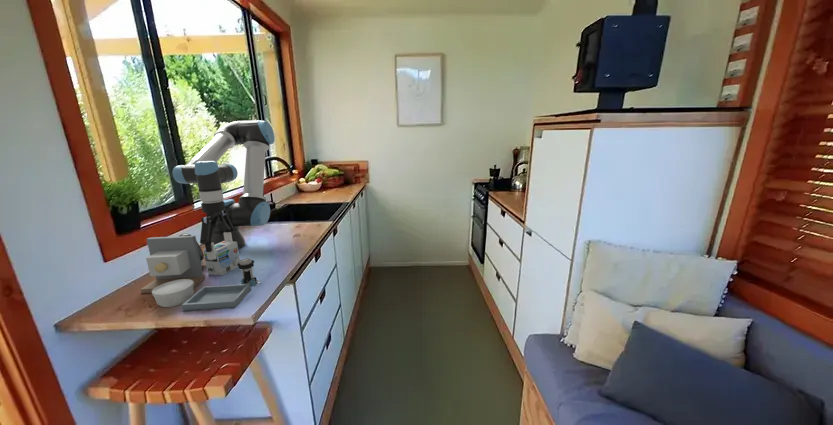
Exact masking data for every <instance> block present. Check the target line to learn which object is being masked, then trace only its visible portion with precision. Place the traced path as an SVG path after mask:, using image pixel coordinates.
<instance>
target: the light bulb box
mask: <svg viewBox="0 0 833 425" xmlns="http://www.w3.org/2000/svg"><path fill="white" fill-rule="evenodd" d="M214 249H215V254H216V259H212V260H208V258H207V253H206V248H204V249H203V250H202V251H203V255H204V259H205V265H206V269H207V275H210V276H212V275H213V276H224V275H225V274H228V273H230V272H232V271H233V270H235V269H237V268H239V267H238V265H237V264H238V263H239V262H240V260H241V258H240V252H239V249H238V245H237V242H232V241H222V242H220V243H218V244H215V245H214Z"/></svg>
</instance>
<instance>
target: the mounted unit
mask: <svg viewBox="0 0 833 425" xmlns="http://www.w3.org/2000/svg"><path fill="white" fill-rule="evenodd" d="M145 241H146V244H147V248H148V251H149V256H146V257H145V259H146V265H147V268H148V271H149V275H150V277H155V279H154V280H152V281H151V282H150V283H148V284H146V285H145V286H143V287H141V289H140V292H141V294H152V290H153V289H154V288H156V287H158V286H160V285H162V284H164V283H167V282H171V281H175V280H180V279H190V280H192V281H193V282H194V285H193V288H195V286H197V285H198V284H200V283H202V281H203V280H204V279H205V278H206V275H205V274H204V272H203V271H204V270H203V266H202V265H203V264H202V265H201V261H200V256H199V251H198V246H197V242H198V241H197V237H196V235H192V236H179V235H178V236H160V237H159V236H156V237H155V236H153V237H148V238H146V240H145Z"/></svg>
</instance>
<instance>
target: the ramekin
mask: <svg viewBox="0 0 833 425" xmlns="http://www.w3.org/2000/svg"><path fill="white" fill-rule="evenodd" d="M193 285H194V282H193V281H192V280H190V279H180V280H175V281H171V282H167V283H164V284H162V285H160V286H158V287H156V288H154V289H153V290H152V293H151V295H152V297H154V300H155V302H156V304H157V305H158V306H159V307H162V308H173V307H176V306H180V305H182V304H183V303H184V302H186V301H187V300H188V299H189V298H191V297H192V296H193V295H194V287H193Z"/></svg>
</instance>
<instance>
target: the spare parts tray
mask: <svg viewBox="0 0 833 425" xmlns="http://www.w3.org/2000/svg"><path fill="white" fill-rule="evenodd" d="M251 291H252V287H251V286H250V284H225V285H223V284H222V285H209V286H206V285H205V286H202V287H201V288H200V289H198V291H197V292H195V293H193V296H192V297H191V298H189V299H188V300H187V301H186V302H184V303H183V304H181V308H182V312H185V313H186V312H198V311H199V312H200V311H215V310H216V311H217V310H218V311H219V310H233V309H236V308H237V307H238V306H239V305H240V304H241V302H242V301H243V300H244V299H245V298H246V296H248V295H249V293H250V292H251Z"/></svg>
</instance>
